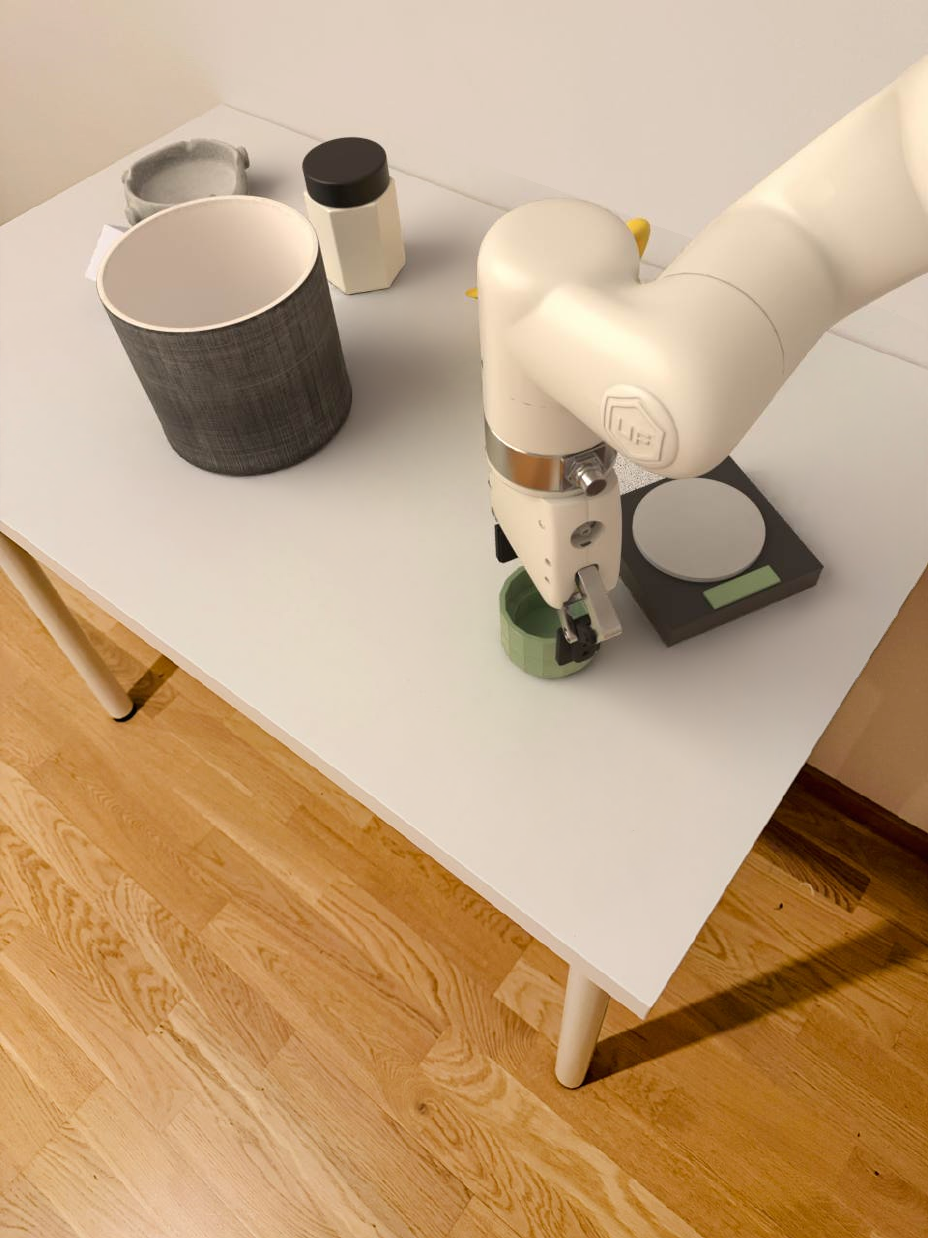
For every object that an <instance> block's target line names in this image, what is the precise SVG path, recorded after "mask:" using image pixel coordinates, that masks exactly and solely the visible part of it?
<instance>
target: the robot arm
mask: <svg viewBox="0 0 928 1238" xmlns="http://www.w3.org/2000/svg"><path fill="white" fill-rule="evenodd" d="M626 223H627V222H625V221H624V220H623V219H622V218H621V217H620V216H619V215H617V214H615V213H614V212H613V211H611V210H610V209H608V208H607V207H604V206H601V205H600V204H598V203H594V202H591V201H588V200H584V199H578V198H570V197H552V198H551V197H550V198H543V199H537V200H533V201H531V202H528V203H527V202H526V203H524V204H522V205H519V206H518V207H515V208H513V209H511V210H510V211H508V212H506V213H504V214H503V215H502V216H501V217H499V218H498V219H497V220H496V221H495V222H494V223H493V225H492V226H491V227H490V228H489V229H488V231H487V232H486V233H485V236H484V237H483V239H482V242H481V244H480V246H479V251H478V255H477V261H476V262H477V263H476V282H477V283H476V285H477V286H476V287H478V299H477V304H478V305H477V306H478V307H477V308H478V323H479V324H478V325H479V342H480V343H479V344H480V358H481V359H480V361H481V363H480V365H481V382H482V402H483V419H484V420H483V421H484V422H483V423H484V438H485V439H484V441H485V446H484V451H485V456H486V460H487V463H488V468H489V469H488V470H489V471H488V473H489V475H488V481H487V482H488V486H489V495H490V502H491V513H492V516H493V518H494V520H495V522H496V524H494V527H493V528H494V547H495V548H494V549H495V558H496V559H497V561H498V562H499V563H501V564H506V563H509V562H511V561H514V560H516V559H518V560H519V561H520V563H521V564H522V566H524V568H525V569H526V571H527V573H528V574H529V576H530V578H531V579H532V581H533V582H534V584H535V586H536V587H537V589H538V591H539V592H540V594H541V595H542V597H543V598H544V600H545V601H546V602H547V603H548V604H549V605H550V606H552V607H553V608H556V609H557V612H558V616H559V619H560V623H561V626H562V627H560V628H558V630H557V635H556V653H555V660H556V661H557V663H558V665H559V666H563V665H565V664H568V663H570V662H573V661H574V662H575V663H580V662H583V661H585V660H588V659H590V658H591V657H592V656H594V654H595V655H596V653H597V652H598V651H599V650H601V647H602V645H601V644H602V642H604V641H606V640H609V639H612V638H614V637H616V636H618V635H619V636H620V635H621V634H622V633H623V628H622V624H621V622H620V620H619V618H618V615H617V613H616V610H615V608H614V606H613V603H612V601H611V598H610V595H609V594H608V592H609V591H612V590H613V589H614V590H615V588H616V587H617V585H618V582H619V578H620V576H619V570H620V559H621V542H622V510H621V499H620V495H621V490H620V484H619V478H618V475H617V473H616V471H615V468H614V466H615V464H616V462H617V458H618V454H620V455H621V456H622V457H624V458H625V459H627V460H628V461H630V462H631V463H633V464H634V465H635V466H637V467H639V468H641V469H643V470H645V471H647V472H648V473H651V474H653V475H656V476H659V477H663V478H671V479H689V478H694V477H697V476H700V475H703V474H705V473H707V472H709V471H711V470H712V469H713V468H715V467H716V466H718V465H719V464H720V463H721V462H722V461H723V460H724V459H725V458H726V457H727V456H728V455H730V454H731V453H732V452H733V451H734V450H735V449H736V447H737V446H738V445H739V443H741V441H742V440H743V438H744V437H745V436H746V435H747V433H748V432H749V431H750V429H751V428H752V427H753V426H754V424H755V423H756V422H757V420H758V419H759V418H760V417H761V415H762V414H763V413H764V412H765V411H766V409H767V408H768V406H769V405H770V404H771V403H772V401H773V399H774V398H775V397H776V395H777V393H778V392H779V391H780V390H781V389H782V387H783V386H784V384H785V383H786V382H787V381H788V379H789V378H790V377H791V376H792V374H794V372H795V370H796V369H797V368H798V367H799V365H800V364H801V363H802V362H803V360H804V359H805V358H806V357H807V355H808V354H809V353H810V352H811V351H812V350H813V348H814V347H815V346H816V344H818V342H819V341H820V340H821V338H822V337H823V336H824V335H825V333H826V332H828V330H830V329H831V328H832V327H834V326H836V325H837V324H838V323H840V322H841V321H843V320H844V319H845V318H847V317H849V316H850V315H851V314H853V313H855V312H857V311H859V310H861V309H862V308H864V307H866V306H867V305H870V304H871V303H873V302H875V301H876V300H878V299H880V298H882V297H883V296H885V295H887V294H889V293H891V292H892V291H895V290H896V289H898V288H901V287H903V286H904V285H906V284H907V283H910V282H911V281H914V280H915V279H917V278H920V277H921V276H923V275H926V274H927V273H928V53H927V54H925V55H924V56H922V57H921V58H919V59H917V60H916V61H915V62H914V63H912V64H911V65H909V67H907V68H906V69H905V70H904V71H902V72H901V73H900V75H899V76H898V77H897V78H896V79H895V80H893V81H892V82H891V83H889V84H888V85H886V86H885V87H883V88H882V89H880V90H879V91H877V92H876V93H874V94H873V95H872V96H870V97H869V98H868V99H866V100H864V101H863V102H862V103H860V104H859V105H858V106H857V107H854V109H852V110H851V111H849V112H848V113H846V114H845V115H844V116H843V117H841V118H840V119H839V120H838V121H836V122H835V123H833V124H832V125H830V126H829V127H828V128H827V129H826V130H825V131H823V132H822V133H820V134H819V135H818V136H817V137H815V138H814V139H813V140H811V141H810V142H809V143H807V144H806V145H805V146H804V147H803V148H801V149H800V150H798V151H797V152H796V153H795V154H793V155H792V156H791V157H789V159H787V160H786V161H785V162H783V163H782V164H781V165H779V166H778V167H777V168H776V169H775V170H773V171H772V172H770V173H769V174H768V175H767V176H766V177H764V178H763V179H761V180H760V181H759V182H758V183H757V184H755V185H754V186H753V187H751V189H749V190H748V191H746V192H745V193H744V194H743V195H741V196H740V197H739V198H738V199H736V200H735V201H734V202H733V203H732V204H730V205H729V206H728V207H727V208H726V209H725V210H723V212H721V213H720V214H719V215H718V216H717V217H716V218H714V220H713V221H711V222H710V223H709V224H708V225H707V226H706V227H705V228H704V229H703V230H702V231H700V233H699V234H698V235H697V236H696V237H695V238H694V239H693V240H692V241H691V242H690V243H689V244H688V245H686V247H684V249H682V251H681V252H680V253H679V254H678V255H677V256H676V258H675V259H674V260H672V262H671V263H670V264H669V265H668V266H667V267H666V268H665V269H664V270H663V271H662V272H661V273H660V275H658V276H657V278H656V279H654V280H653V281H650V282H645V283H641V284H639V283H638V282H639V280H640V265H641V264H640V263H641V262H640V261H641V259H640V257H639V250H638V246H637V243H636V241H635V238H634V235H633V233H632V232H631V231H630V229H629V228H628V226H627V225H626ZM575 583H576V585H577V587H575ZM580 600H583V602H584V604H585V607H586V609H587V611H588V614H585V615H583V616H580V617H578V618H575V619H573V617H572V614H571V610H570V607H569V605H570V604H573V603H575V602H578V601H580ZM594 657H595V656H594Z"/></svg>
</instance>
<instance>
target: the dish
mask: <svg viewBox="0 0 928 1238" xmlns="http://www.w3.org/2000/svg"><path fill="white" fill-rule="evenodd" d="M250 166H251V162H250V158H249V154H248V152H247V149H246V147H244V146H242V145H240V146H237V148H236V147H235V146H233V145H232V144H230V143H228V142H225V141H222V140H218V139H213V138H209V139H208V138H203V137H201V138H199V137H198V138H192V139H189V140H180V141H176V142H172V143H170V144H167V145H165V146H162V147H160V148H159V149H157V150H155V151H152V152H150V153H148V154H146V155H144V156H142V157H141V158H139V159H138V160H136V161H134V162H133V163H132V164H131V165H130V166H129V167H128V169H126V170H124V172H122V174H121V182H122V184H123V189H124V195H125V201H126V204H127V205H126V207H125V209H124V213H125V218H126V220H127V222H128V223H129V225H130V226H131V228H132V227H133V226H135V225H136V224H137V223H139V222H141V221H142V220H144V219H146V218H148V217H150V216H151V215H154V214H156V213H158V212H160V211H162V210H165V209H167V208H170V207H172V206H175V205H178V204H181V203H185V202H188V201H193V200H197V199H202V198H208V197H215V196H226V195H246V196H249V185H248V175H247V171H246V170H247V169H248V170H249V169H250Z"/></svg>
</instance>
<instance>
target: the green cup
mask: <svg viewBox="0 0 928 1238" xmlns="http://www.w3.org/2000/svg"><path fill="white" fill-rule="evenodd" d="M575 587H577V585H576V583H575ZM498 603H499V621H500V636H501V647H502V648H503V650H504V652H505V654H506V656H507V658H508V659H509V661H510V662H511V663H512V664H513V665H515V666H516V667H518V668H519V669H521V671H523V672H525V673H527V674H530V675H533V676H535V677H538V678H539V677H540V678H543V679H547V678H548V679H549V678H550V679H551V678H563V677H566V676H569V675H571V674H573V673H576V672H578V671H581V670H582V669H583V668H584V667H586V665H587V664H588V663H590V661H591V660H592V659H594V657H595V655H596V653H595V654H594V656H592V657H591V658H590V659H588V660H585V661H583V662H580V663H575V662H574V661H573V662H570V663H568V664H565V665H563V666H559V665H558V663H557V661H556V660H555V653H556V635H557V630H558V628H560V627H562V626H561V623H560V619H559V616H558V612H557V609H556V608H553V607H552V606H550V605H549V604H548V603H547V602H546V601H545V600H544V598H543V597H542V595H541V594H540V592H539V591H538V589H537V587H536V586H535V584H534V582H533V581H532V579H531V578H530V576H529V574H528V573H527V571H526V569H525V568H524V566H523V565H521V566H519V567H518V568H517V569H515V570H514V571H513V572H512V573H511V574H509V576H507V577H506V579H505V580H504V583H503V585H502V587H501V589H500V591H499V594H498ZM569 607H570V610H571V614H572V617H573V619H575V618H578V617H580V616H583V615H585V614H588V611H587V609H586V607H585V604H584V602H583V600H580V601H578V602H575V603H573V604H570V605H569Z"/></svg>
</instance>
